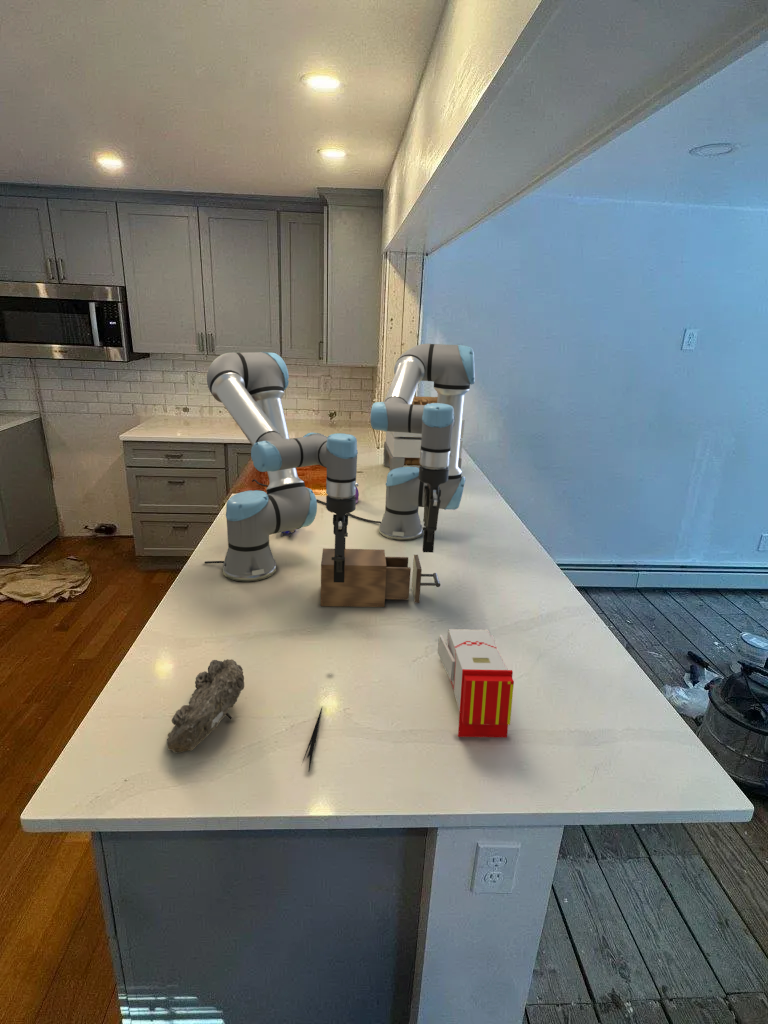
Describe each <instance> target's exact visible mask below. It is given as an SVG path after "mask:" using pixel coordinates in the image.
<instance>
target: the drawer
mask: <svg viewBox="0 0 768 1024" xmlns="http://www.w3.org/2000/svg"><path fill="white" fill-rule="evenodd" d="M385 559H386V585H385V600H409V599H410V586H411V590H412V591H411V592H412V596H413V600H414V603H415V604H420V598H421V586H422V587H423V586H424V587H435V588H440V587H441V583H440V579H439V576H438V573H437V572H433V573H422V570H423V569H422V565H421V561H420V557H419V554H413V559H412V568H411V567H410V566H409V557H408V556H385ZM411 570H412V572H411ZM411 573H412V574H411ZM423 577H424V578H427V577H428V578H430V577H431V578H433V582H422V578H423ZM410 584H411V585H410Z"/></svg>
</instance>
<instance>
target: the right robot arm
mask: <svg viewBox="0 0 768 1024" xmlns="http://www.w3.org/2000/svg"><path fill="white" fill-rule="evenodd" d="M474 352H475V351H474V349H473V347H471V346H469V345H463V344H462V345H461V344H443V343H442V344H441V343H421V344H420V343H419V344H417V345H415V346H412V347H411V348H409V349H407V350H406V351H404V352H402V354H401V355H400V356H399V357H398V358H397V360H396V362H395V364H394V367H393V373H394V376H393V378H392V381H391V383H390V386H389V388H388V390H387V393H386V395H385V397H384V401H376V402H373V403H372V406H371V409H370V426H371V429H373V430H374V431H382V432H384V433H386V431H390V432H406V433H417V434H422V438H421V448H420V461H419V463H420V464H421V466H418V467H417V466H404V467H400V468H396V469H393V470H391V471H390V470H389V472H388V473H387V475H386V482H385V504H384V505H385V507H384V508H385V509H384V513H383V515H382V519H381V521H380V520H372V519H368V518H364V517H360V516H356V515H354V514H353V513H346V514H345V515H348V516H350V517H352V518H354V519H358V520H361V521H364V522H368V523H373V524H379V526H378V533H379V534H380V535H381V536H382V537H385V538H387V539H389V540H395V541H410V540H415V539H418V538H420V537H421V536H422V535H423V536H422V537H423V538H422V553H434V549H435V547H434V546H435V535H436V533H435V532H436V531H437V529H438V521H439V513H440V510H444V511H446V510H451V511H452V510H453V511H454V510H455V511H456V510H457V509H459V508H460V504H461V501H462V498H463V497H462V496H463V493H464V487H465V483H466V477H465V476H463V474H462V473H463V471H462V469H461V470H460V468H459V467H458V459H459V448H460V439H461V438H460V436H461V425H462V419H463V414H464V413H463V412H464V403H465V395H466V394H467V393H468V392H469V391H470V388H471V385H475V382H476V375H475V373H476V371H475V370H476V369H475V353H474ZM421 382H433V389H434V390H435V391H436V393H437V396H436V397H437V403H430V404H426V405H413V404H412V401H413V398H414V396H415V394H416V391H417V388H418V385H419V383H421ZM251 482H253V483H254V482H255V483H256V484H257V485H259V486H262V487H266V488H267V487H268V485H269V484H264V483H261V482H259V481H258V480H257V479H255V478H254V479H252V480H251ZM316 501H317V503H320V504H324V505H325V506H326V502H325V501H322V500H320V499H317V498H316ZM419 508H423V519H422V522H423V525H422V524H421V518H420V515H419Z"/></svg>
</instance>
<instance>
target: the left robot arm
mask: <svg viewBox="0 0 768 1024" xmlns="http://www.w3.org/2000/svg"><path fill="white" fill-rule="evenodd" d="M207 369H208V370H207V373H206V383H207V385H206V386H207V388H208V390H209V393H210V394H211V396H212V397H213V398H214V400H216V401H217V402H219V403H222V405H223V406H224V407H225V409H226V410H227V412H228V413H229V414H230V416H231V417H232V419H233V421H234V422H235V423H236V424H237V426H238V427H239V429H240V430H241V432H242V433H243V434H244V436H245V437H246V439H247V441H248V442H249V443H250V445H251V450H250V457H251V461H252V464H253V466H254V468H255V470H257V471H258V472H260V473H266V472H267V477H268V481H269V483H268V484H267V485H268V487H266V489H265V491H263V490H260V489H259V490H258V489H254V490H251V489H250V490H245V491H241V492H237V493H235V494H233V495H232V496H230V498H229V499H228V500H227V501H226V506H225V508H226V509H225V518H226V530H227V531H226V532H227V550H226V554H225V556H224V560H207V561H206V560H205V561H204V562H203V563H204V565H208V564H222V573H223V576H224V577H225V578H227V579H229V580H232V581H234V582H235V581H236V582H246V583H248V582H258V581H262V580H265V579H268V578H269V577H271V576H273V575H274V574H275V573H276V571H277V562H276V559H275V558H274V556H273V552H272V549H271V546H270V536H271V535H274V534H281V532H285V531H290V530H294V529H295V530H300V529H302V528H305V527H309V526H310V525H312V524H313V522H314V521H315V519H316V516H317V513H318V501H316V499H317V497H316V494H315V493H314V491H313V490H312V489H311V488H309V487H306V484H305V481H304V480H303V479H301V478H300V477H299V475H298V471H297V468H303V467H304V468H305V467H311V466H321V467H323V468H325V469H326V478H325V488H326V489H325V494H326V498H325V501H326V502H325V503H326V505H325V508H326V510H327V511H328V512H329V513H333V515H332V525H333V530H332V531H333V535H334V549H335V556H334V557H332V560H334V582H344V572H345V557H344V549H346V538H347V537H348V536H349V533H348V525H349V515H348V514H346V513H350V514H352V513H353V512H354V511H356V504H357V503H356V497H355V496H354V495H355V494H356V487H357V488H358V487H359V482H357V468H358V466H357V465H358V453H359V452H358V440H357V437H356V436H355V435H353V434H350V433H344V432H342V433H340V432H339V433H331V434H329V435H328V436H327V435H324V434H322V433H318V432H308V433H306V434H304V435H303V436H301V437H300V436H299V437H291V438H290V435H289V430H288V425H287V420H286V417H285V411H284V408H283V403H282V402H283V401H282V399H283V398H284V396H285V395H286V393H285V390H286V389H287V388H288V386H289V382H290V381H289V378H290V375H289V370H288V367H287V364H286V362H285V360H284V359H283V358H282V356H281V355H279V354H277V353H275V352H267V351H260V352H259V351H256V352H255V351H253V352H251V351H250V352H249V351H247V352H235V351H234V352H226V353H222V354H221V355H219V356H217V357H216V358H215V359H214V360H212V362H211V364H210V365H209V367H208V368H207Z"/></svg>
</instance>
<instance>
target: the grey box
mask: <svg viewBox="0 0 768 1024" xmlns="http://www.w3.org/2000/svg"><path fill="white" fill-rule="evenodd" d="M437 397H438V396H415V395H414V398H413V401H412V404H413V405H426V404H430V403H437ZM464 429H465V419H464V418H462V425H461V436H460V448H459V459H458V467H459V468H460V470H461V471H462V461H463V460H462V453H463V442H464V441H463V440H462V439H463V438H464V431H465V430H464ZM421 438H422V434H417V433H406V432H390V431H386V432H385V438H384V442H383V466H384V467H388V468H389V472H390V471H391V470H393V469H396V468H400V467H405V466H406V467H417V466H418V467H420V466H421V464H420V463H419V461H420V448H421Z"/></svg>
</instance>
